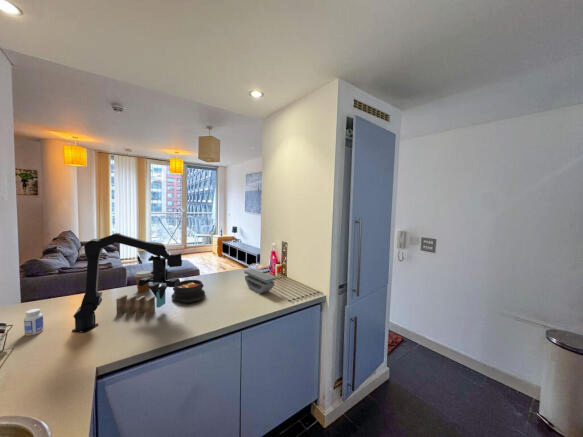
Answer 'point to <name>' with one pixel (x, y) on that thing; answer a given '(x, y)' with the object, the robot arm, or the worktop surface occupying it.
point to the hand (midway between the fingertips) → (159, 298)
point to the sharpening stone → (259, 281)
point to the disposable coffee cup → (139, 276)
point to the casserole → (188, 291)
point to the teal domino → (159, 300)
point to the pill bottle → (33, 322)
